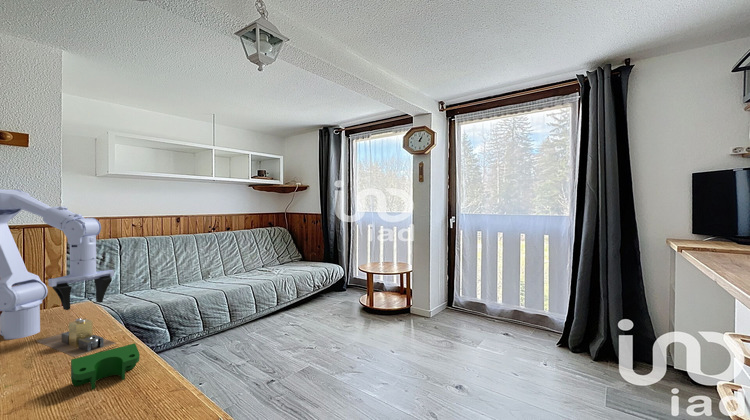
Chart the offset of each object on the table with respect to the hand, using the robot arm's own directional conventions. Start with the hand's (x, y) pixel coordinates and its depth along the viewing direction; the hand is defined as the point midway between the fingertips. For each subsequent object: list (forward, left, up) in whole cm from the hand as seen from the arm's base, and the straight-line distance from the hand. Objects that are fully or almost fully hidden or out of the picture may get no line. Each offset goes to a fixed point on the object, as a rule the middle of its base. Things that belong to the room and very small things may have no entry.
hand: (83, 305), depth 94 cm
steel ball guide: (+8, -4, -8) cm, 12 cm away
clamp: (+33, -10, -10) cm, 36 cm away
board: (+5, -4, -9) cm, 11 cm away
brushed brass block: (+8, -4, -8) cm, 12 cm away
